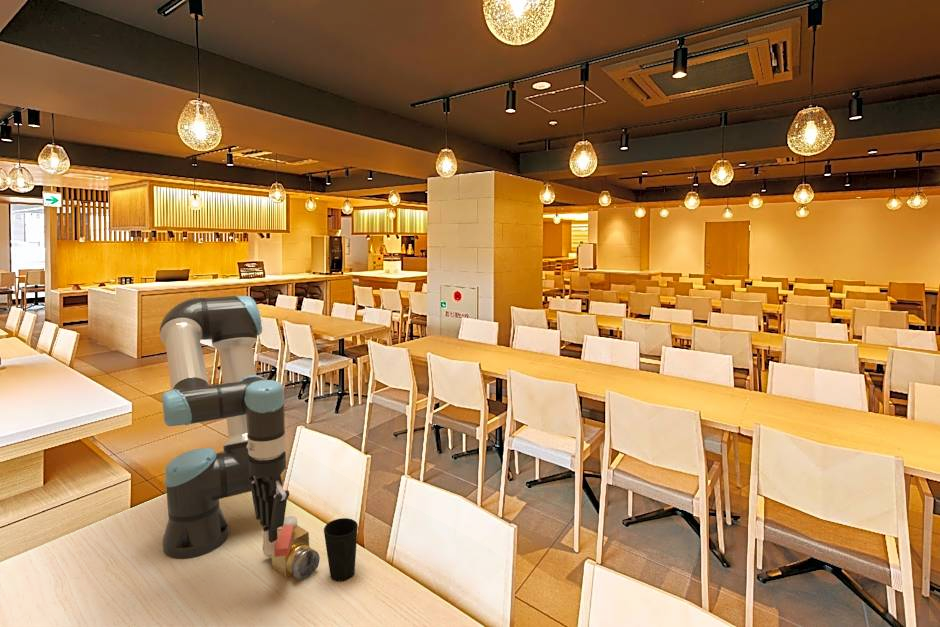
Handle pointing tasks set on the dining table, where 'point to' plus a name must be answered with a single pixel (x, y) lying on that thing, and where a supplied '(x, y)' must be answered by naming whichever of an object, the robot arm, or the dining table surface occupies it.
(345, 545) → the cup
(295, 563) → the valve body
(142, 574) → the dining table surface
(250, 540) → the dining table surface
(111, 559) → the dining table surface
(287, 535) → the lever
